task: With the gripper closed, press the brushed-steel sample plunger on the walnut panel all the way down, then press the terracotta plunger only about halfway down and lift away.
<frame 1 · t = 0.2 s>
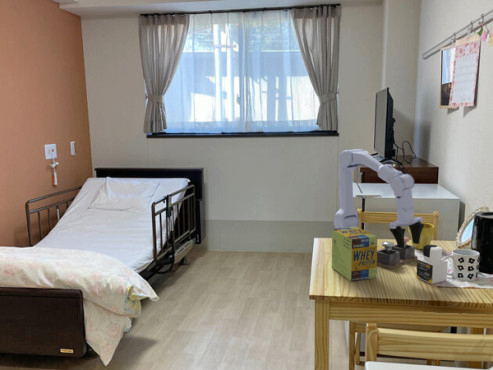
hand: (408, 245, 155), 11 cm above the table, tool pointing down, fingers open, 7 cm apart
steel plunger: (387, 247, 166), point 7 cm above the table, slide at 0.0 cm
medicine bottle: (431, 279, 151), on the table
plant pot: (420, 247, 186), on the table
protein box: (353, 273, 159), on the table
plunger panel: (395, 261, 170), on the table
terracotta plunger: (403, 242, 172), point 7 cm above the table, slide at 0.0 cm
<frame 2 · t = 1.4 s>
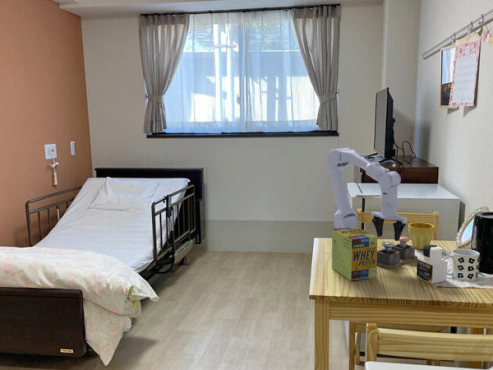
hand: (388, 238, 165), 10 cm above the table, tool pointing down, fingers open, 7 cm apart
nothing on the table moved.
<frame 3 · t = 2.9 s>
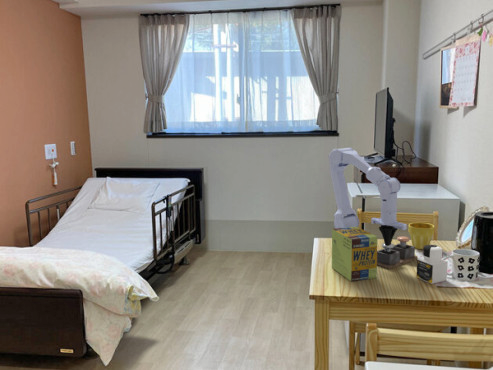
hand: (387, 244, 166), 8 cm above the table, tool pointing down, fingers closed, pressing on steel plunger
steel plunger: (387, 249, 166), point 6 cm above the table, slide at 0.6 cm, touching gripper
everything else where it was.
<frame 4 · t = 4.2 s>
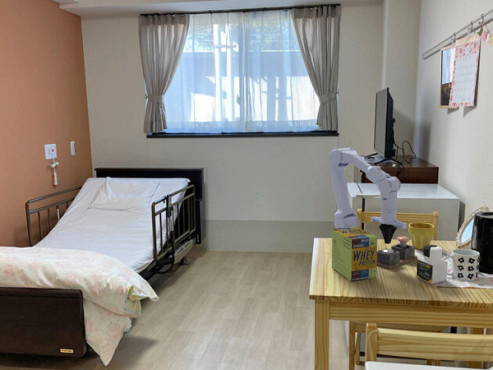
hand: (387, 243, 166), 8 cm above the table, tool pointing down, fingers closed
steel plunger: (387, 255, 166), point 3 cm above the table, slide at 3.1 cm
everything else where it was.
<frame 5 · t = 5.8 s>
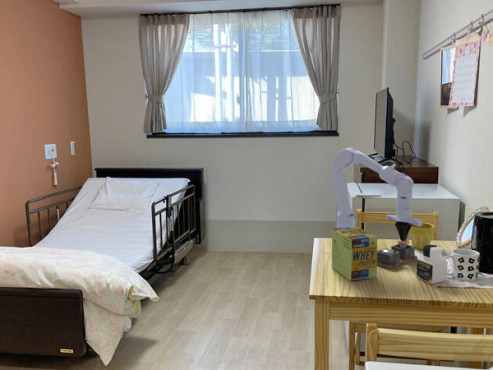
hand: (403, 240, 172), 7 cm above the table, tool pointing down, fingers closed, pressing on terracotta plunger
terracotta plunger: (403, 245, 172), point 6 cm above the table, slide at 1.0 cm, touching gripper
everything else where it was.
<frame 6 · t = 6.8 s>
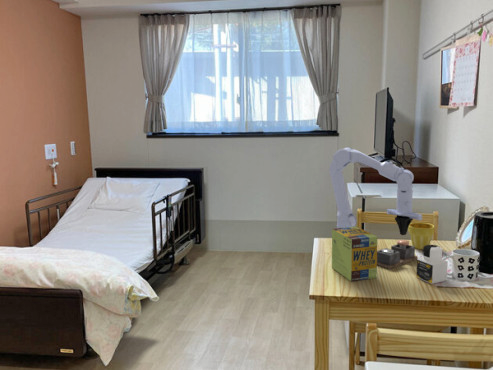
hand: (403, 234, 171), 10 cm above the table, tool pointing down, fingers closed
terracotta plunger: (403, 246, 172), point 5 cm above the table, slide at 1.4 cm
everything else where it was.
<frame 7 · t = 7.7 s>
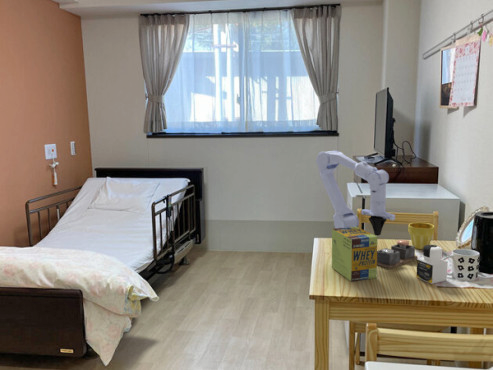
hand: (377, 234, 170), 10 cm above the table, tool pointing down, fingers closed
nothing on the table moved.
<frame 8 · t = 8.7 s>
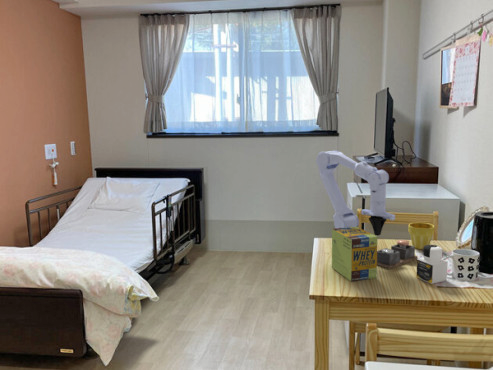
hand: (377, 234, 170), 10 cm above the table, tool pointing down, fingers closed
nothing on the table moved.
at the end: steel plunger slide at 3.1 cm; terracotta plunger slide at 1.4 cm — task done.
